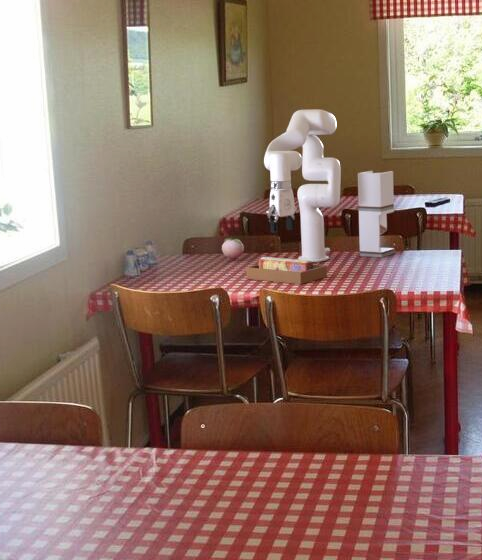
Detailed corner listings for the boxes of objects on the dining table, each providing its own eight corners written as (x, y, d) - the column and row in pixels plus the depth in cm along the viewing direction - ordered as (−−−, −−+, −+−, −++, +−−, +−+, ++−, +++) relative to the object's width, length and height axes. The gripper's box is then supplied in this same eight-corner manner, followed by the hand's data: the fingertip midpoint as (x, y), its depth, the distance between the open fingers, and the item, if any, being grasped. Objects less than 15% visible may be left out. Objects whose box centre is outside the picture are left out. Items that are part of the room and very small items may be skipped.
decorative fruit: (218, 261, 417) (217, 237, 415) (227, 258, 424) (226, 235, 422) (238, 262, 413) (236, 238, 411) (247, 259, 420) (246, 235, 419)
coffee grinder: (381, 257, 416) (380, 173, 409) (359, 255, 421) (357, 173, 414) (394, 253, 425) (393, 171, 419) (372, 251, 431) (371, 170, 424)
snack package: (315, 275, 374) (314, 258, 373) (306, 278, 368) (306, 260, 367) (266, 272, 383) (265, 255, 382) (257, 275, 377) (256, 258, 376)
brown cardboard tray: (273, 271, 390) (272, 260, 389) (326, 276, 376) (326, 265, 375) (246, 278, 376) (245, 267, 375) (300, 284, 362) (300, 272, 361)
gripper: (274, 187, 361) (276, 234, 364) (302, 184, 375) (304, 229, 378) (258, 187, 365) (260, 233, 368) (287, 183, 379) (288, 228, 382)
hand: (282, 231), depth 373 cm, fingers open, 9 cm apart
